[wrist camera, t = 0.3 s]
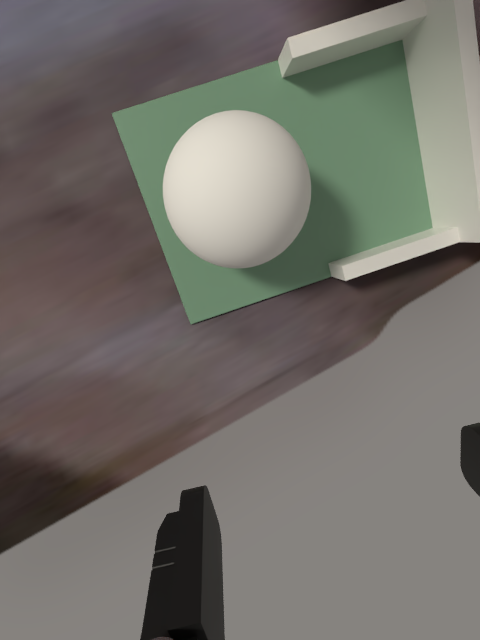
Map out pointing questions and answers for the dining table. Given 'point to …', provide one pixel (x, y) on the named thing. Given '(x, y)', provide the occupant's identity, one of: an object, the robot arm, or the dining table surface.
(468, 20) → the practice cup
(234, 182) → the ball
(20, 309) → the dining table surface
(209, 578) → the robot arm
